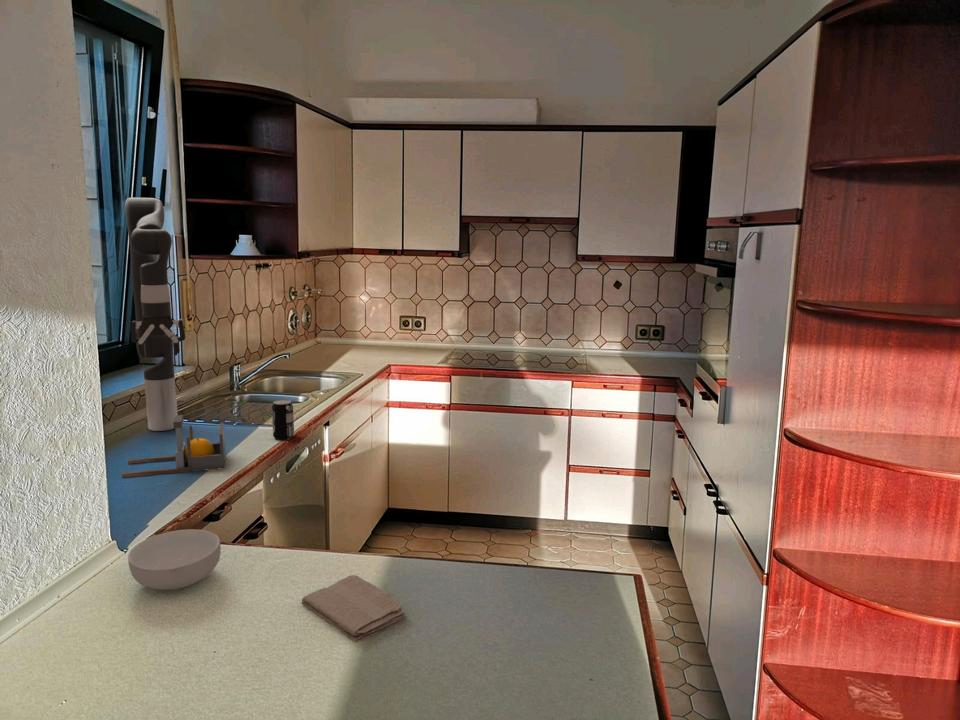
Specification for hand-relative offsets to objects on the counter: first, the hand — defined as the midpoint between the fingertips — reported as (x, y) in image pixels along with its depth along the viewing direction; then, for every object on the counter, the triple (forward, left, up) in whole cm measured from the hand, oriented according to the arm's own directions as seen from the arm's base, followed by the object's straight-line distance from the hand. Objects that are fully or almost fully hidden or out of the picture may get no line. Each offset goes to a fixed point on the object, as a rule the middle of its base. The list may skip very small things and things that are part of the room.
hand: (160, 355), depth 208 cm
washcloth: (+102, +41, -31) cm, 114 cm away
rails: (+11, -1, -30) cm, 32 cm away
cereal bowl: (+81, +9, -30) cm, 87 cm away
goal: (+11, +12, -30) cm, 34 cm away
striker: (+11, +5, -30) cm, 32 cm away
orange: (+11, +10, -30) cm, 34 cm away
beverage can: (-8, +34, -30) cm, 46 cm away
